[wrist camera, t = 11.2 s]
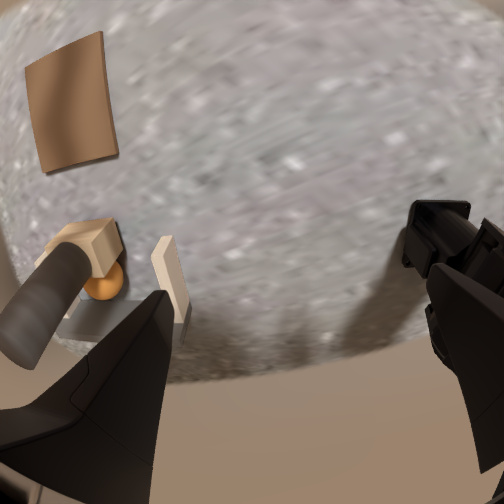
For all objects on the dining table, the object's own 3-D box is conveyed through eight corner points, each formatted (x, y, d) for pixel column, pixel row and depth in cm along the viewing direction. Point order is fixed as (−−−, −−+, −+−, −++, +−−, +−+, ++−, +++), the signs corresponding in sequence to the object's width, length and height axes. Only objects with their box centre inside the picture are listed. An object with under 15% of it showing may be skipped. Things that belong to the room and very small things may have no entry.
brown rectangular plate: (102, 31, 14) (99, 31, 14) (119, 152, 19) (116, 153, 19) (28, 67, 14) (24, 67, 14) (46, 171, 20) (42, 173, 19)
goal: (172, 235, 23) (155, 271, 19) (191, 308, 27) (182, 347, 23) (49, 246, 24) (23, 275, 20) (77, 306, 28) (59, 337, 24)
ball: (124, 308, 23) (134, 272, 26) (104, 283, 20) (117, 244, 23) (89, 307, 24) (100, 273, 26) (67, 283, 20) (82, 247, 23)
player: (112, 213, 21) (18, 332, 10) (124, 252, 23) (53, 376, 12) (67, 220, 21) (-24, 322, 10) (80, 254, 23) (5, 362, 12)
